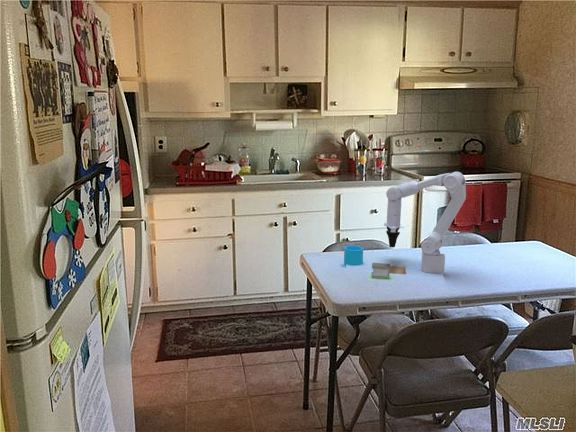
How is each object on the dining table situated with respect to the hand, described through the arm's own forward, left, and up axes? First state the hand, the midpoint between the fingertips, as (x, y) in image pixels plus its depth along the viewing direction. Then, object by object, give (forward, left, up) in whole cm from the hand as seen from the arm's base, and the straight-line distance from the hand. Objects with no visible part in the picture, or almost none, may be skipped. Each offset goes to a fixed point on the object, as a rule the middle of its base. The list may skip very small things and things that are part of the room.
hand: (392, 244), depth 224 cm
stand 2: (-1, +9, -10) cm, 13 cm away
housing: (+4, +20, -8) cm, 22 cm away
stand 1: (+4, +20, -10) cm, 23 cm away
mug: (+17, +1, -10) cm, 20 cm away
